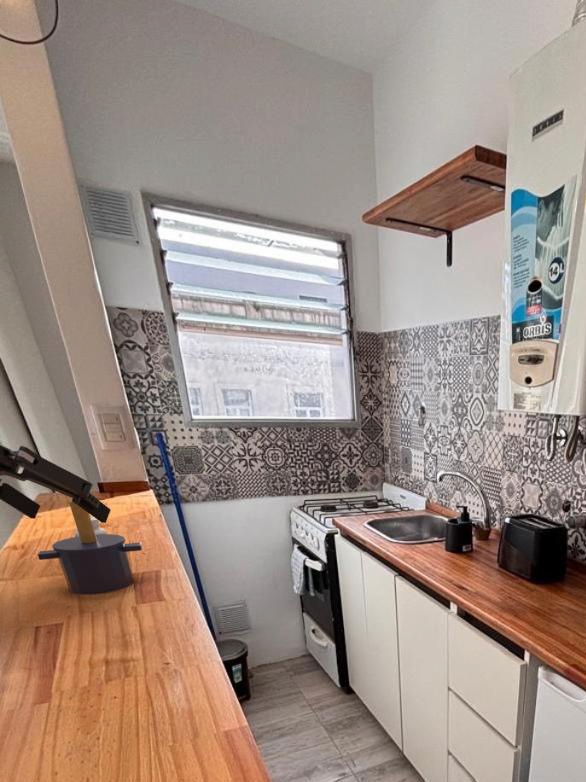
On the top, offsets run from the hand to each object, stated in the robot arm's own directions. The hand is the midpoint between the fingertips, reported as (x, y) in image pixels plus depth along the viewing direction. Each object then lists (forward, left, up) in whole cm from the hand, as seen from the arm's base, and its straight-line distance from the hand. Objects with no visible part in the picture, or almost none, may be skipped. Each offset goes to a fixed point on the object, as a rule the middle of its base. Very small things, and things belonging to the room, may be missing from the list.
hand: (71, 514), depth 91 cm
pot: (-2, +1, -14) cm, 14 cm away
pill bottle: (-19, -1, -15) cm, 24 cm away
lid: (-1, +1, -6) cm, 6 cm away
